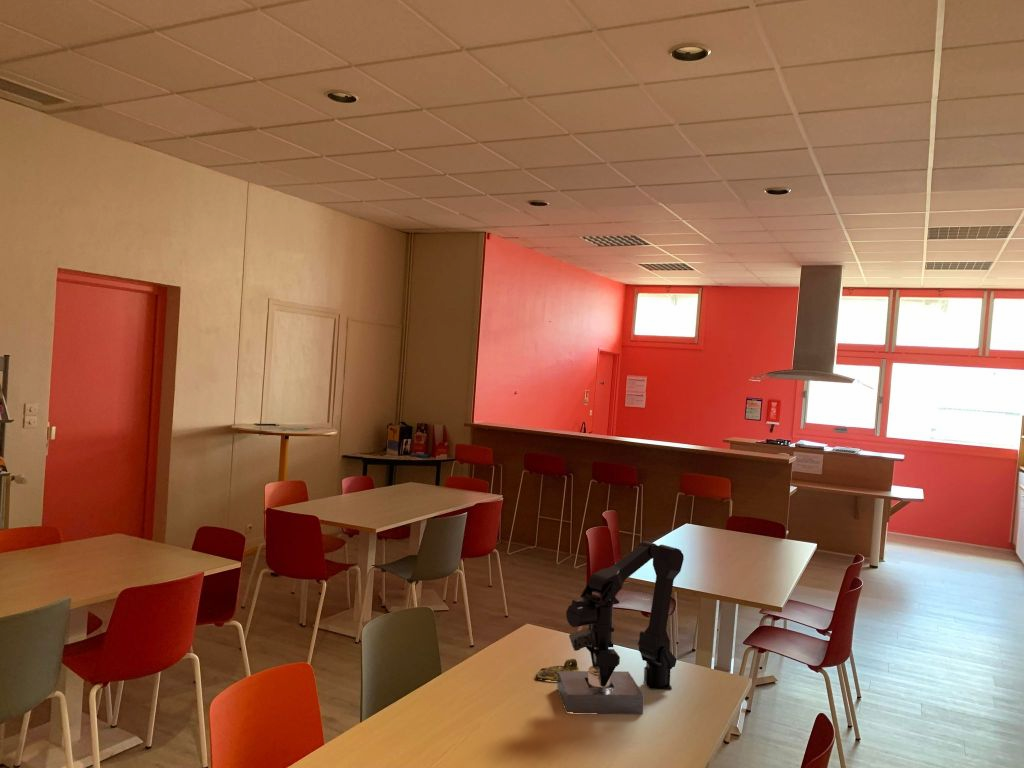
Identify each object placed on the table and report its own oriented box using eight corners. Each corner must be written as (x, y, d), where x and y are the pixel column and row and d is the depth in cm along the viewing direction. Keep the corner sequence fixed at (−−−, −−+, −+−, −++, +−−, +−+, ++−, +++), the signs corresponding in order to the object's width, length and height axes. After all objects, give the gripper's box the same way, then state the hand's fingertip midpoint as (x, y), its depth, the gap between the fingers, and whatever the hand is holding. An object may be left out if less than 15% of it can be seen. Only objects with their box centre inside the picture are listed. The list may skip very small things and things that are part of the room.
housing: (627, 689, 211) (628, 671, 211) (642, 714, 195) (643, 694, 195) (557, 689, 209) (557, 671, 209) (566, 714, 193) (567, 694, 193)
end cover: (607, 695, 206) (608, 665, 206) (612, 704, 200) (613, 673, 200) (585, 695, 205) (586, 665, 205) (589, 704, 199) (591, 673, 199)
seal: (546, 690, 211) (586, 679, 220) (548, 674, 211) (588, 664, 220) (527, 675, 219) (566, 665, 228) (528, 660, 219) (568, 651, 227)
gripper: (566, 610, 211) (564, 666, 211) (578, 632, 192) (576, 693, 192) (605, 611, 212) (603, 666, 212) (621, 632, 193) (618, 693, 193)
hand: (599, 679), depth 202 cm, fingers open, 9 cm apart
